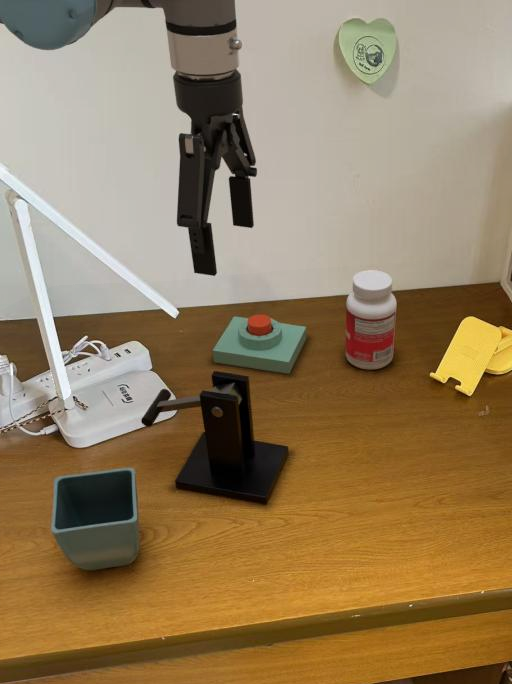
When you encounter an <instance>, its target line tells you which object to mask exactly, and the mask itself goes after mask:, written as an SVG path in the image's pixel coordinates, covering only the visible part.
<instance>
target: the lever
mask: <svg viewBox="0 0 512 684" xmlns="http://www.w3.org/2000/svg"><path fill="white" fill-rule="evenodd" d="M210 392H217V393H223V394H229V395H235V396H238V404H240V402H241V400H242V396H241V394H240V392H239V390H238V388H237V386H236V384H235V383H229V384H222V385H216V386H214V388H213V387H212V390H211V391H210ZM171 397H172V393H171V391H170V390H168V389H166V388H161V390H160V391H159V393H158V394H157V396H156V397H155V398H154V400H153V401H152V403H151V404H150V405H149V407H148V409H147V410H146V411H145V413H144V415H143V416H142V417H141V419H140V422H141V424H142V425H143V426H144V427H147V428H151V427H152V426H153V425H154V423H155V422H156V421H157V419H158V417H159V416H160V414H161V413H167V412H173V411H181V410H187V409H195V408H201V402H200V395H194V396H193V395H192V396H188V397H181V398H174V399H171Z"/></svg>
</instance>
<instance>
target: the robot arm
mask: <svg viewBox="0 0 512 684" xmlns="http://www.w3.org/2000/svg"><path fill="white" fill-rule="evenodd" d="M115 8H143V9H162V10H163V14H164V18H165V20H164V21H165V28H166V36H167V44H168V45H167V46H168V52H169V53H168V54H169V61H170V66H171V67H170V68H171V69H173V70H174V71H175V72H174V74H173V75H172V81H173V87H174V94H175V95H174V96H175V102H176V107H177V109H178V110H179V111H180V112H182V113H184V114H185V115H187V117H189V119H190V133H183V132H180V133H179V134H178V149H179V169H178V186H177V187H178V189H177V190H178V191H177V209H176V210H177V211H176V225H177V227H181V228H187V231H188V239H189V244H190V252H191V259H192V267H193V273H194V274H199V275H205V276H212V277H216V275H217V274H218V270H217V269H218V268H217V261H216V254H215V253H216V252H215V245H214V243H215V242H214V235H213V227H212V222H208V220H209V213H210V207H211V201H212V194H213V187H214V181H215V175H216V171H218V170H219V169H220V168H221V164H222V163H221V162H222V160H223V162H224V163H225V165H226V166H227V168H228V170H229V172H230V173H231V174H232V175H230V176H229V177H228V187H229V197H230V207H231V208H230V209H231V216H232V218H231V219H232V226H234V227H240V228H247V229H248V228H249V229H253V228H254V226H255V223H254V212H253V211H254V210H253V209H254V208H253V196H252V184H251V178H249V177H253V178H256V177H257V175H258V168H257V167H255V166H256V164H257V159H256V155H255V151H254V148H253V145H252V141H251V138H250V133H249V130H248V128H247V124H246V120H245V116H244V109H243V104H244V98H243V84H242V83H243V82H242V74H241V72H240V71H239V70H238V68H239V66H240V53H239V52H240V50H241V49H242V47H243V43H242V40H240V39H238V27H237V14H236V0H0V24H2V25H4V26H5V28H6V29H7V30H8V32H10V33H11V34H12V35H13V36H15V37H16V38H17V39H18V40H20V41H21V42H22V43H23V44H25V45H26V46H29V47H31V48H34V49H36V50H42V51H56V50H59V49H63V48H64V47H66V46H70V45H72V44H74V43H76V42H77V41H80V39H82V38H83V37H85V36H86V35H87V33H89V31H90V30H91V28H92V27H94V25H96V24H97V23H98V22H99V21H100V20H102V19H104V17H106V16H107V15H108V14H109V13H110V12H112V11H113V10H114V9H115Z"/></svg>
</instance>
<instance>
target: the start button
mask: <svg viewBox="0 0 512 684" xmlns="http://www.w3.org/2000/svg"><path fill="white" fill-rule="evenodd" d="M248 318H249V319H248V321H247V323H248V332H249V334H251V335H255V336H263V335H267V334H269V333H271V331H272V327H271V319H270V318H271V317H270V316H268V315H266V314H254V315H251V316H249V317H248Z"/></svg>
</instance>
